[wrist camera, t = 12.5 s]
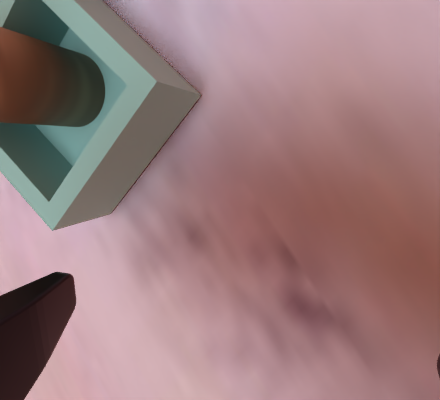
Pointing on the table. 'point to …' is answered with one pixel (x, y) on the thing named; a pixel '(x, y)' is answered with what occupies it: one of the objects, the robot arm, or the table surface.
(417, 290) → the table surface
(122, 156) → the socket block
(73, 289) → the robot arm
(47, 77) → the dowel
